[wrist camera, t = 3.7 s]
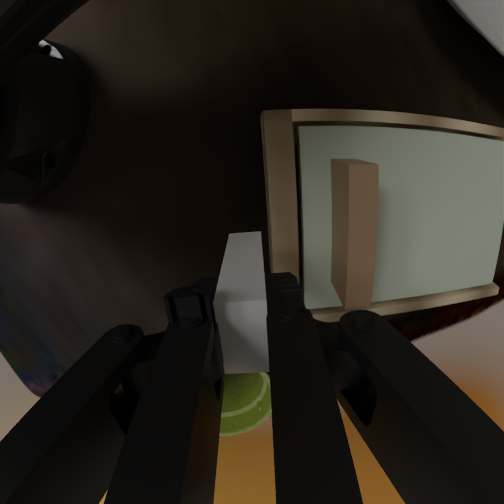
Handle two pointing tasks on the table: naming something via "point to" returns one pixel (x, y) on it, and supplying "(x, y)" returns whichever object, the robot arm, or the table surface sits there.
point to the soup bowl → (484, 19)
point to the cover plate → (396, 213)
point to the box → (288, 199)
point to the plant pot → (244, 402)
